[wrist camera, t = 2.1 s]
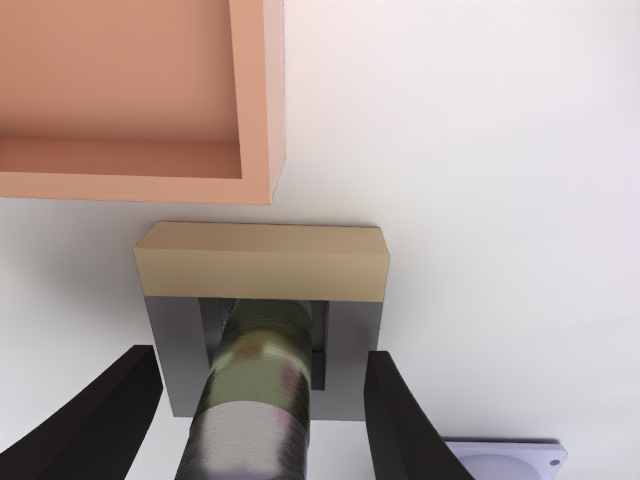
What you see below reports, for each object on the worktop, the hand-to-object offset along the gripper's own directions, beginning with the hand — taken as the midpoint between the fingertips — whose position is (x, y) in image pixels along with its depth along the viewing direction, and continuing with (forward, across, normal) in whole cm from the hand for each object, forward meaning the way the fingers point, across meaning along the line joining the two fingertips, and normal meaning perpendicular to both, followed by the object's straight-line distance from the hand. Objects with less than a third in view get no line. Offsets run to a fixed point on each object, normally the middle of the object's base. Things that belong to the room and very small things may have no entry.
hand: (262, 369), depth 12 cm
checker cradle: (+3, 0, 0) cm, 3 cm away
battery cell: (+3, 0, 0) cm, 3 cm away
